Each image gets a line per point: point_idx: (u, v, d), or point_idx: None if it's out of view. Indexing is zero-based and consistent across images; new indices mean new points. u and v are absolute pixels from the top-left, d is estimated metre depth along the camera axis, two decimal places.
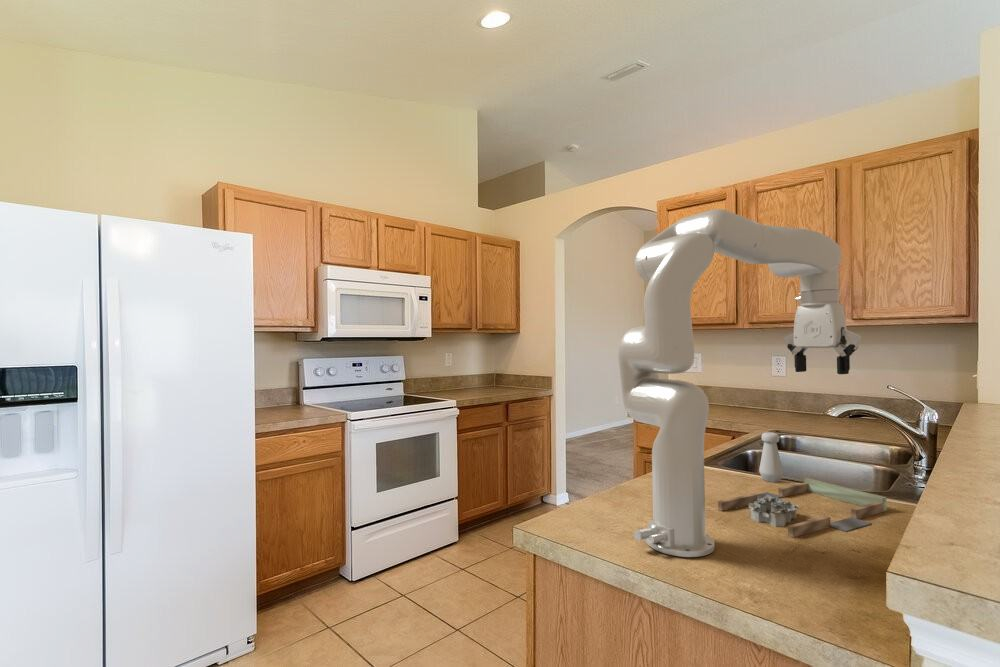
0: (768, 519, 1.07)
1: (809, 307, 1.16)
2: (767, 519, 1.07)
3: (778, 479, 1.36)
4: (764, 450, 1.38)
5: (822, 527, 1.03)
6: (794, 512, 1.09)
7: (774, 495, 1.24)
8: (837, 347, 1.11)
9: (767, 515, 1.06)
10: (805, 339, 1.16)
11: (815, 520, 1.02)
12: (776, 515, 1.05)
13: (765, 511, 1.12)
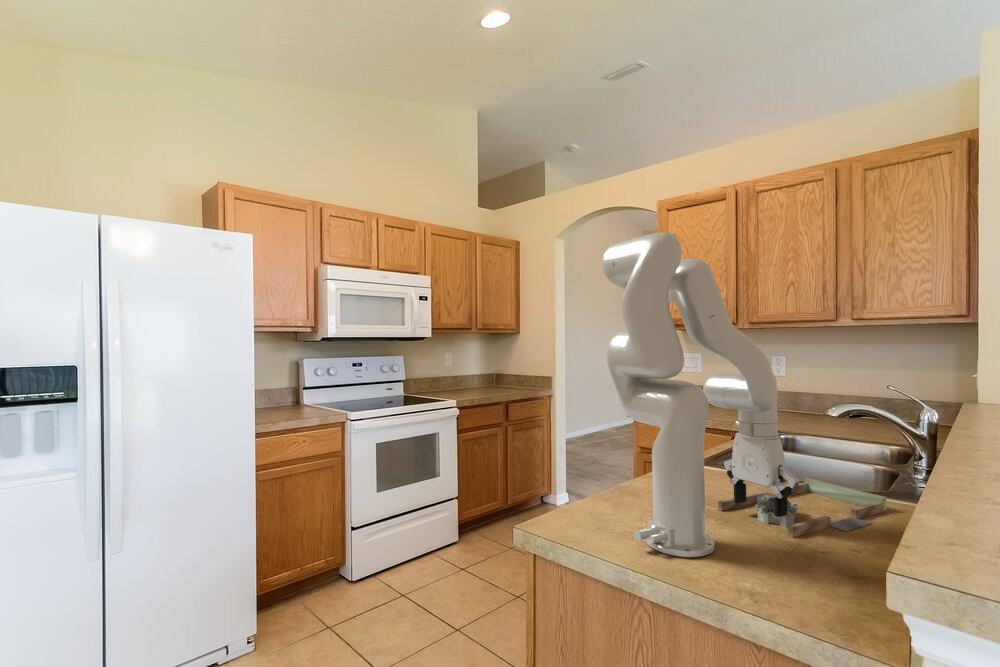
0: (777, 520, 1.06)
1: (746, 438, 1.07)
2: (776, 519, 1.06)
3: None
4: None
5: (822, 527, 1.03)
6: (795, 510, 1.10)
7: (774, 495, 1.24)
8: (774, 487, 1.03)
9: None
10: (742, 472, 1.08)
11: (815, 520, 1.02)
12: (786, 515, 1.04)
13: (766, 511, 1.12)
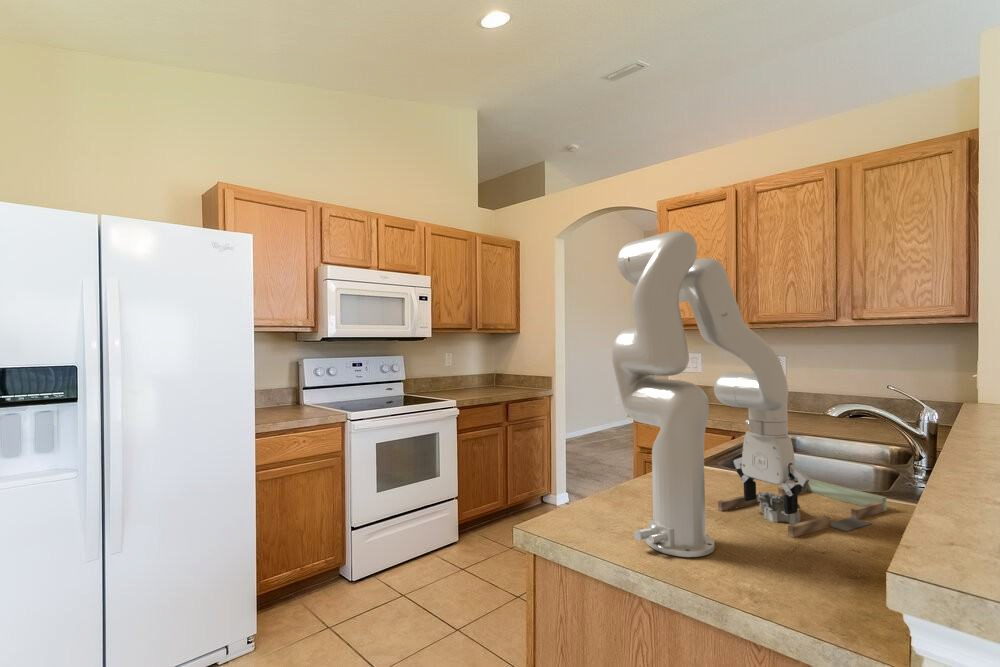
0: (784, 517, 1.07)
1: (757, 437, 1.09)
2: (783, 516, 1.07)
3: None
4: None
5: (822, 527, 1.03)
6: None
7: None
8: (784, 485, 1.05)
9: None
10: (753, 470, 1.10)
11: (815, 520, 1.02)
12: None
13: None
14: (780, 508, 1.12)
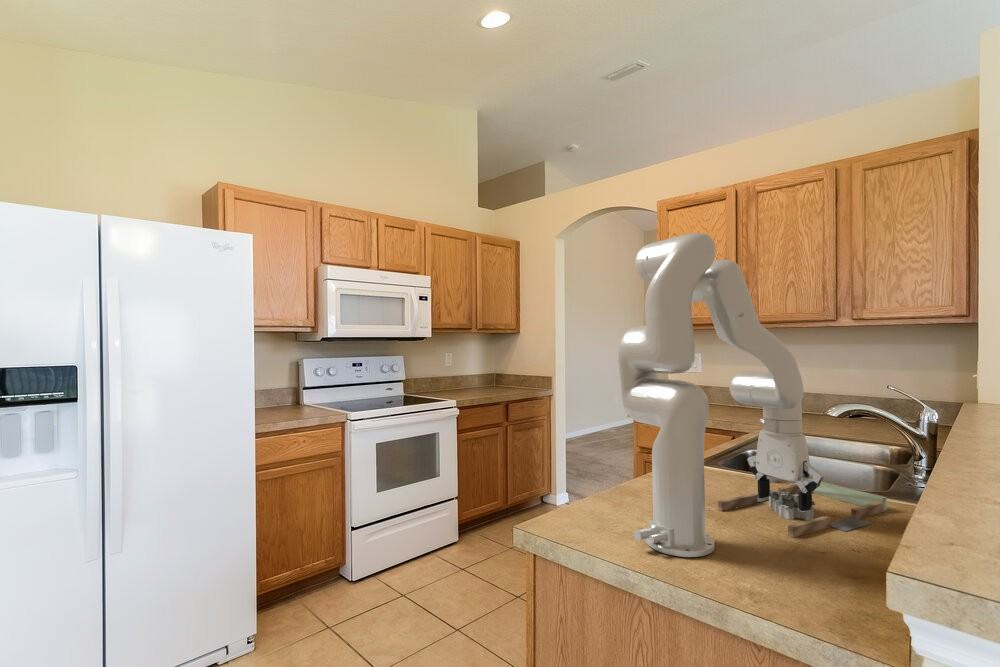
0: (799, 514, 1.09)
1: (771, 435, 1.11)
2: (798, 513, 1.09)
3: (778, 479, 1.36)
4: None
5: (822, 527, 1.03)
6: None
7: None
8: (799, 482, 1.07)
9: None
10: (767, 467, 1.12)
11: (815, 520, 1.02)
12: None
13: None
14: (791, 505, 1.14)
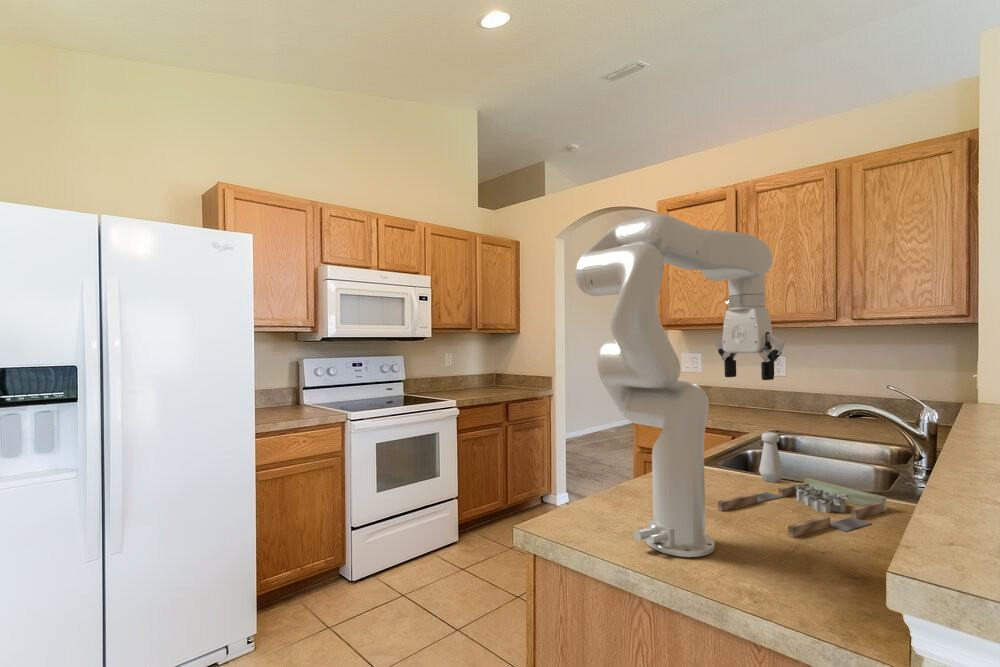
0: (833, 507, 1.13)
1: (736, 311, 1.14)
2: (832, 507, 1.13)
3: (778, 479, 1.36)
4: (764, 450, 1.38)
5: (822, 527, 1.03)
6: None
7: (774, 495, 1.24)
8: (762, 352, 1.10)
9: (836, 504, 1.12)
10: (732, 344, 1.15)
11: (815, 520, 1.02)
12: (843, 501, 1.12)
13: None
14: (820, 499, 1.18)
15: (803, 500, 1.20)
